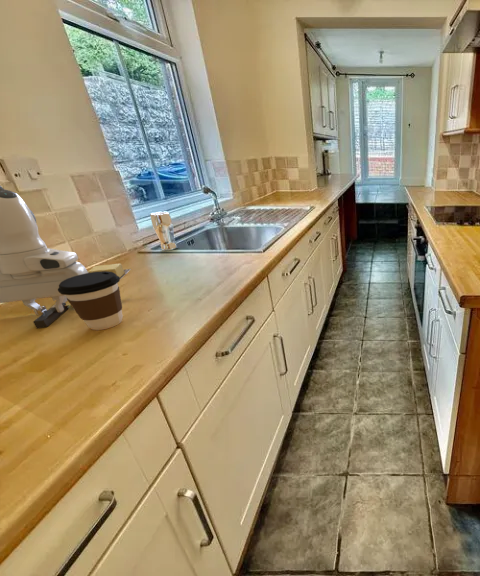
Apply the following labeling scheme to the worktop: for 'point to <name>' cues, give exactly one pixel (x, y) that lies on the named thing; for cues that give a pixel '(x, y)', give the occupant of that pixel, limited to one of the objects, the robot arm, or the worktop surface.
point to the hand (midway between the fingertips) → (50, 312)
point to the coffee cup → (94, 298)
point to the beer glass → (164, 230)
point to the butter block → (109, 269)
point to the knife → (49, 316)
